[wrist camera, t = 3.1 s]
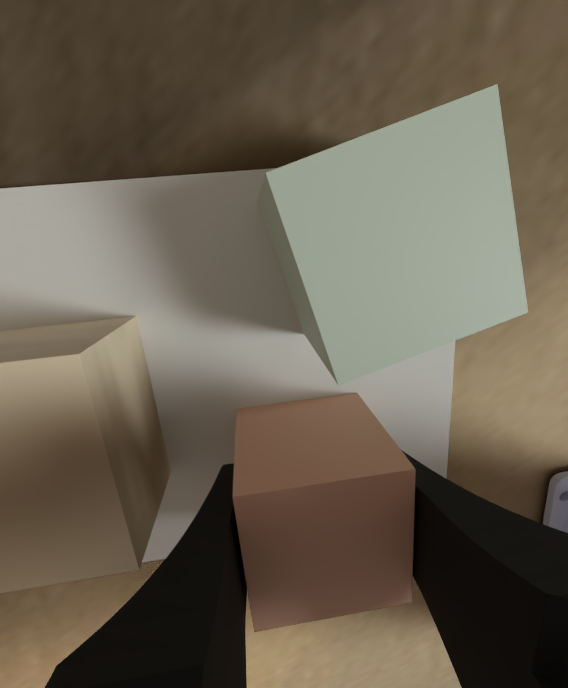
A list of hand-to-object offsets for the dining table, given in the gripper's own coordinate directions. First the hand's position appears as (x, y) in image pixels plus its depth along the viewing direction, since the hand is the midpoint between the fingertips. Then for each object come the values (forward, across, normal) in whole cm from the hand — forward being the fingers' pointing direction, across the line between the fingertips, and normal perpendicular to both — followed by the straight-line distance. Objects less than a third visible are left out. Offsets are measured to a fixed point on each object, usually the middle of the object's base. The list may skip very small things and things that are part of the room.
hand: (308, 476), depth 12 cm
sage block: (+1, -2, -8) cm, 8 cm away
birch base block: (+1, +8, -3) cm, 9 cm away
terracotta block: (+1, 0, 0) cm, 1 cm away
